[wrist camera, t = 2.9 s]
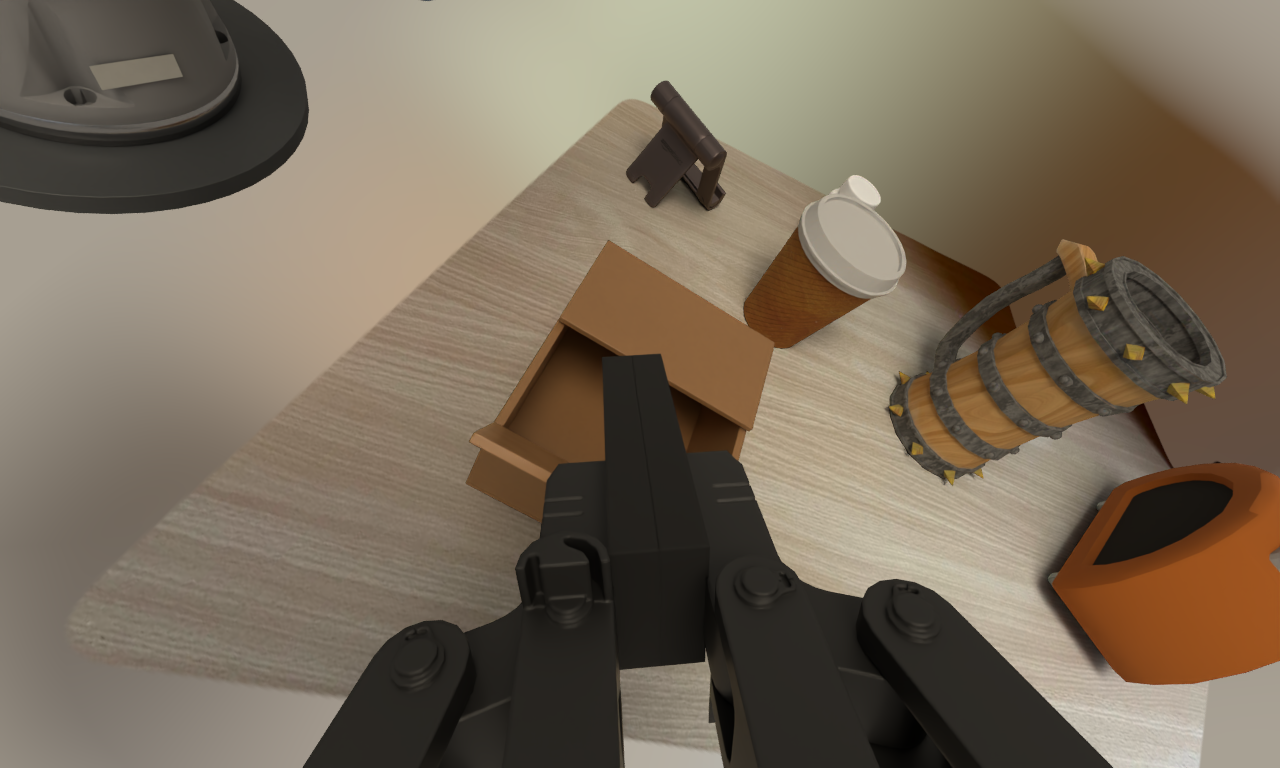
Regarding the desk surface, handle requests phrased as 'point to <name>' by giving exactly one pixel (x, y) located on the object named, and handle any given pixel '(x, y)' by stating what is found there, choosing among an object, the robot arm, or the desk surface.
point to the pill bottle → (859, 191)
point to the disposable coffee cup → (825, 270)
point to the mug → (1054, 364)
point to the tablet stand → (680, 152)
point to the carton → (620, 326)
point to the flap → (516, 451)
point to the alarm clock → (1181, 575)
